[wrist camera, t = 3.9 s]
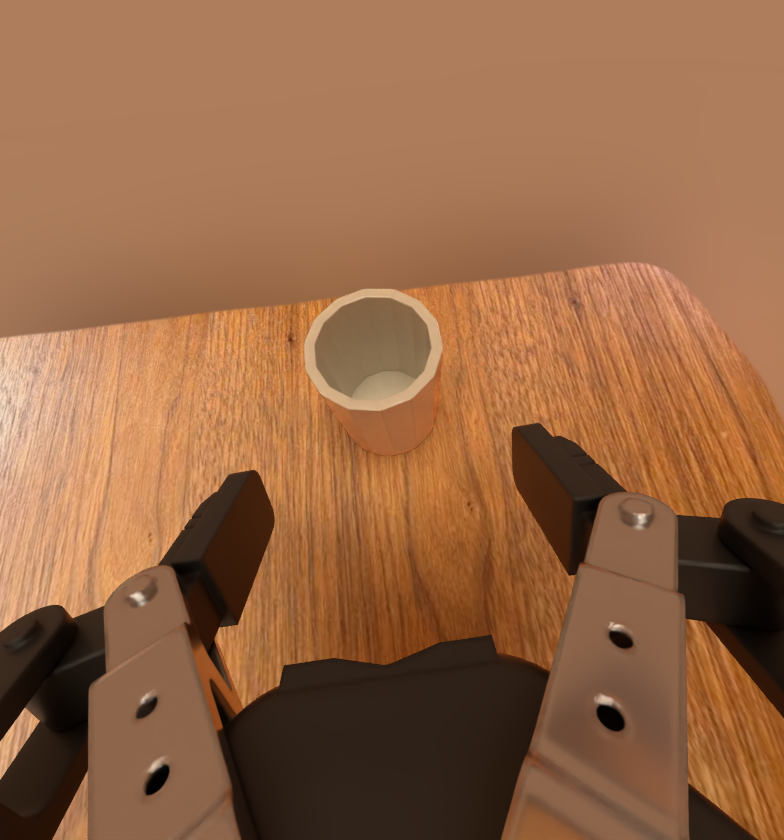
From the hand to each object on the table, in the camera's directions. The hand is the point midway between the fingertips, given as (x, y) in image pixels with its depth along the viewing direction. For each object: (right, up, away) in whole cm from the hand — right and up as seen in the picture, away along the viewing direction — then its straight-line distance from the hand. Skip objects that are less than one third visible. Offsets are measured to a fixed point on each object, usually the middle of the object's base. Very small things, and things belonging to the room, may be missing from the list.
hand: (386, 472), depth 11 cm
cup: (0, +2, +12) cm, 12 cm away
